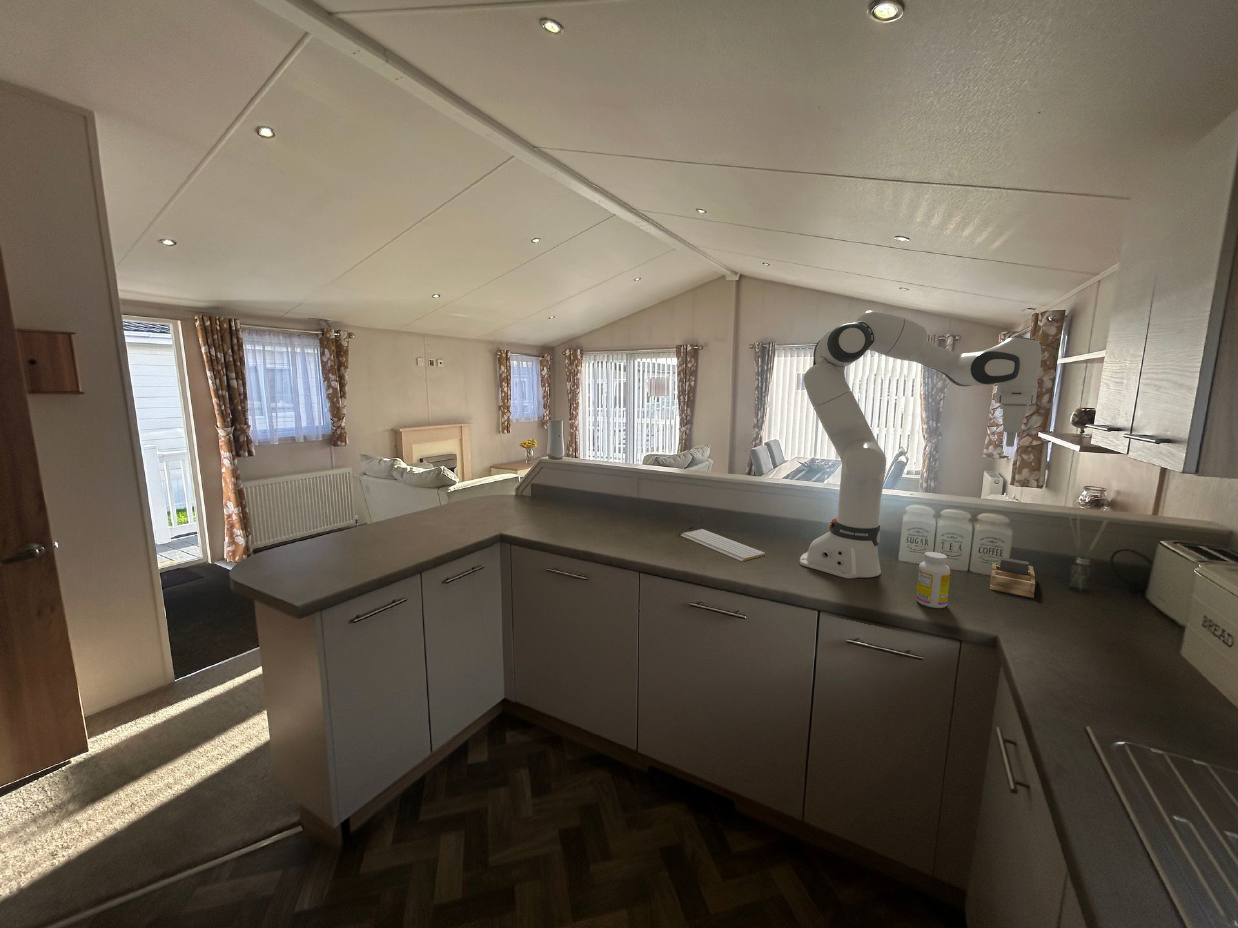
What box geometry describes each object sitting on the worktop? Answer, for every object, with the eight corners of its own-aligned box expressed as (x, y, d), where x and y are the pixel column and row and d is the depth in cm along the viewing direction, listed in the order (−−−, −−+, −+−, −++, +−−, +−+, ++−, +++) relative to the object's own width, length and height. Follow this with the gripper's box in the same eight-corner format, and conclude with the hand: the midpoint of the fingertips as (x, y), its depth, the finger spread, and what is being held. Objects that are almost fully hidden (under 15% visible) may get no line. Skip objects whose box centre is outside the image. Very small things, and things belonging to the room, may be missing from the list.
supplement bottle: (944, 600, 125) (950, 552, 123) (948, 611, 119) (954, 561, 117) (914, 595, 128) (919, 548, 125) (916, 605, 122) (921, 557, 120)
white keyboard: (738, 564, 152) (765, 557, 158) (738, 555, 152) (765, 548, 158) (677, 537, 178) (702, 532, 184) (677, 530, 178) (702, 525, 184)
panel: (998, 578, 136) (1000, 559, 135) (998, 575, 138) (1000, 557, 137) (1026, 583, 132) (1028, 564, 131) (1026, 580, 134) (1028, 561, 133)
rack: (989, 588, 131) (991, 575, 131) (991, 568, 145) (993, 556, 145) (1033, 597, 126) (1035, 584, 125) (1031, 576, 140) (1033, 563, 139)
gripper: (1001, 396, 146) (996, 441, 148) (1001, 398, 130) (994, 449, 132) (1029, 396, 142) (1023, 443, 144) (1031, 398, 126) (1025, 451, 129)
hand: (1009, 446), depth 138 cm, fingers closed
